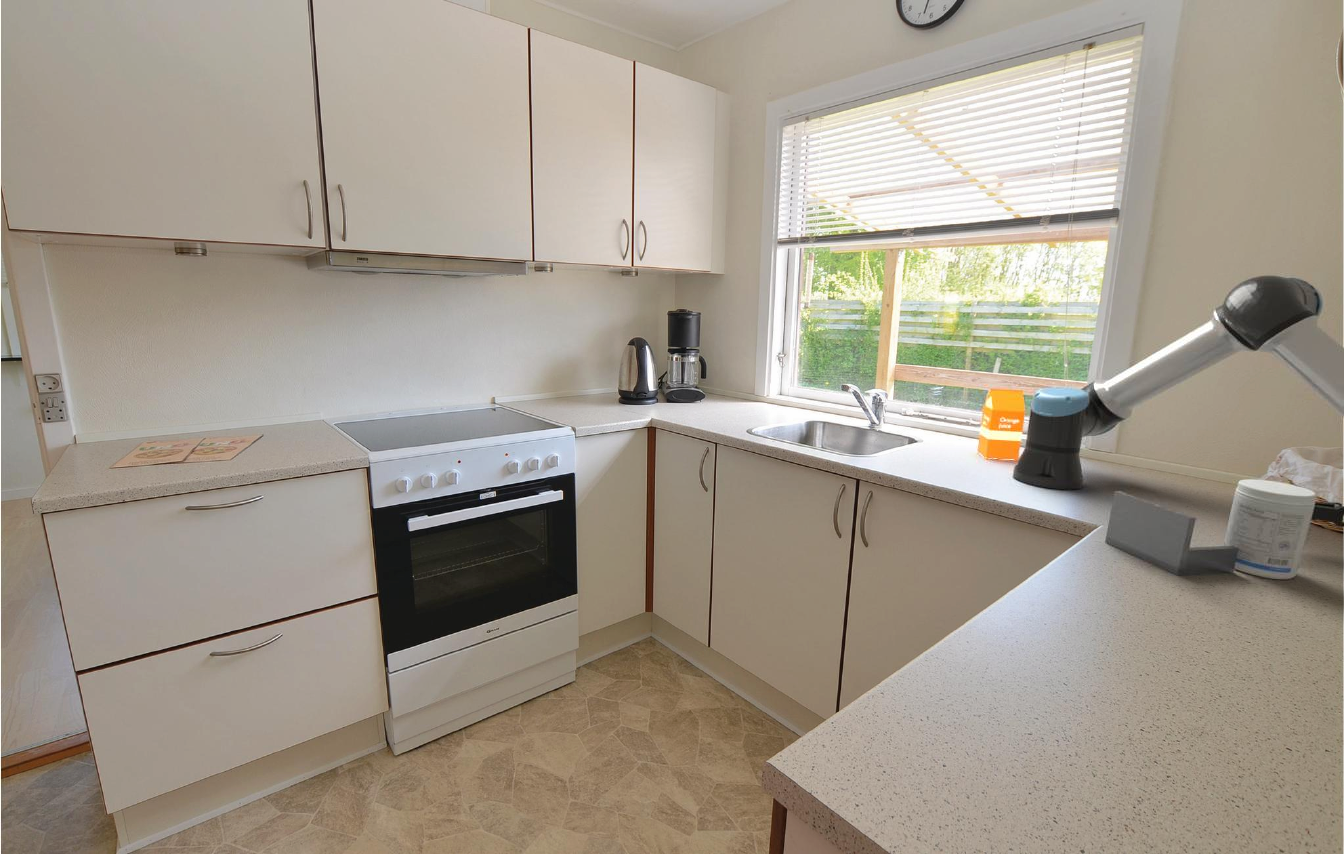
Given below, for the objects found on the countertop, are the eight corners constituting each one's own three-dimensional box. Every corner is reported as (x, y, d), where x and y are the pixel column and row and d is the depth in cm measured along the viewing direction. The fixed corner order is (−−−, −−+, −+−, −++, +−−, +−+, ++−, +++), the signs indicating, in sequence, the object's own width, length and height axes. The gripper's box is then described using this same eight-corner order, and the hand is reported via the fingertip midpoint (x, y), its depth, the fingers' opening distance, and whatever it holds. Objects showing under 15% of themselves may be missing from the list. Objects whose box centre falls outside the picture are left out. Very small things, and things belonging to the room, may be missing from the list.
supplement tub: (1235, 553, 109) (1253, 476, 106) (1306, 575, 101) (1328, 491, 98) (1208, 562, 105) (1226, 481, 102) (1280, 585, 96) (1302, 498, 93)
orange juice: (1018, 461, 172) (1028, 392, 168) (985, 459, 173) (994, 390, 169) (1008, 454, 179) (1017, 388, 175) (976, 452, 181) (985, 387, 177)
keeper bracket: (1105, 542, 113) (1114, 491, 111) (1155, 540, 114) (1165, 490, 112) (1177, 575, 99) (1189, 518, 97) (1233, 572, 101) (1246, 516, 99)
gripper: (1503, 572, 94) (1396, 578, 91) (1313, 516, 118) (1223, 519, 115) (1518, 526, 93) (1410, 531, 89) (1323, 479, 117) (1232, 481, 113)
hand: (1305, 524), depth 102 cm, fingers open, 13 cm apart
